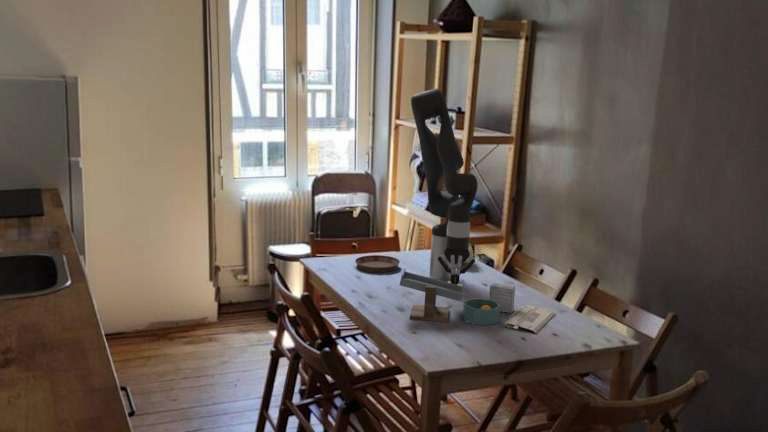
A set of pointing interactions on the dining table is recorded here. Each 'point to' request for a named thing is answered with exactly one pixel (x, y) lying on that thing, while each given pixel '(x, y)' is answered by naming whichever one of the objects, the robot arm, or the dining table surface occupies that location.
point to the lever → (440, 286)
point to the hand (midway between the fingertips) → (454, 284)
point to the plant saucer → (377, 263)
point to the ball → (485, 307)
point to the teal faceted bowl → (481, 311)
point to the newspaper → (530, 318)
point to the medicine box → (503, 296)
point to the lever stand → (429, 308)
